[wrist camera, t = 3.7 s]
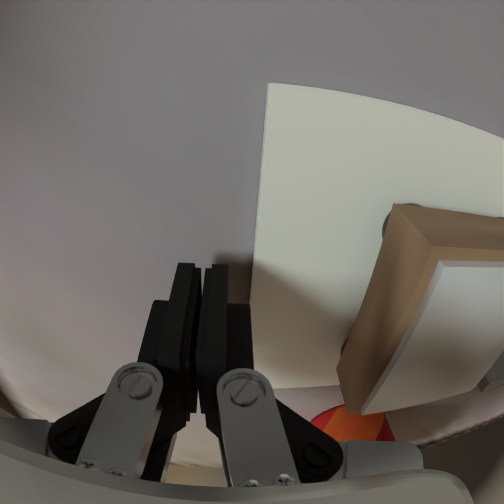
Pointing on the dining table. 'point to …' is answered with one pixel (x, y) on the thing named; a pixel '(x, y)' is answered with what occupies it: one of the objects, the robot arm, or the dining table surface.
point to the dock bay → (347, 215)
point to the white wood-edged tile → (426, 311)
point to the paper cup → (353, 425)
